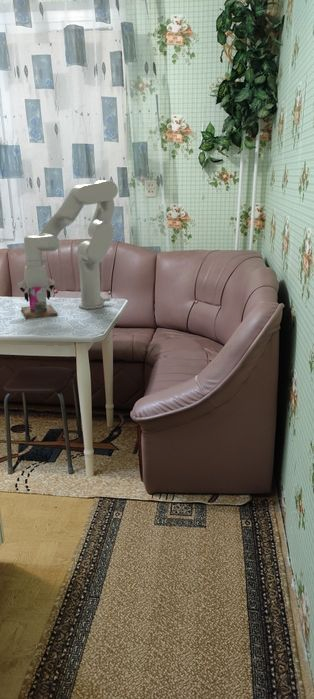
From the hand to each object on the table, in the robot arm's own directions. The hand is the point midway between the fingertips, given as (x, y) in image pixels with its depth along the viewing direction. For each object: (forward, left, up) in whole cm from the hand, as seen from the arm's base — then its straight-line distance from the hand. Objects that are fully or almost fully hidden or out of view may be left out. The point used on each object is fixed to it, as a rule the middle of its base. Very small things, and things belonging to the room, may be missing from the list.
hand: (37, 300), depth 238 cm
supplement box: (0, 0, -5) cm, 5 cm away
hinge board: (0, 0, -6) cm, 6 cm away
